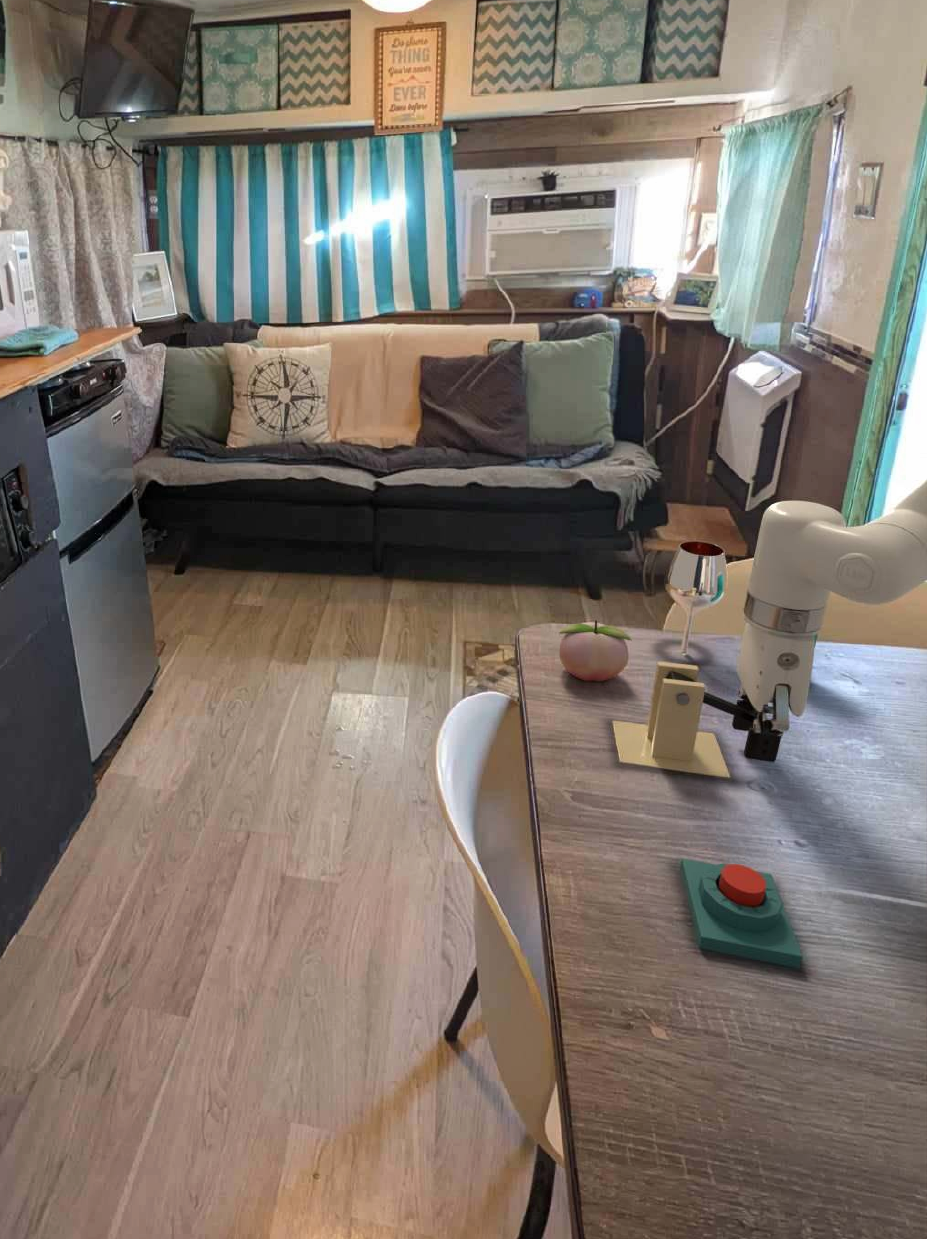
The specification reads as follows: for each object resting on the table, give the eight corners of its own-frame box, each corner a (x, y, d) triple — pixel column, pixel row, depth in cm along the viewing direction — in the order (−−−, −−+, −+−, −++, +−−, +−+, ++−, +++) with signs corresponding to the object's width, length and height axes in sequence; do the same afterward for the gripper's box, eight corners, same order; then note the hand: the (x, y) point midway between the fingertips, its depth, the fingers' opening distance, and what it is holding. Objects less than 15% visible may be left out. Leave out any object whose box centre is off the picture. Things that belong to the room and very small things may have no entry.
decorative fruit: (615, 667, 121) (623, 607, 118) (629, 697, 114) (639, 635, 110) (549, 664, 123) (555, 605, 119) (559, 693, 115) (566, 631, 112)
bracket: (712, 741, 104) (728, 661, 100) (729, 785, 96) (747, 700, 92) (611, 727, 107) (622, 649, 103) (618, 769, 99) (631, 687, 95)
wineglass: (652, 640, 128) (669, 534, 121) (712, 649, 124) (732, 541, 118) (652, 665, 121) (670, 555, 115) (714, 676, 118) (736, 563, 111)
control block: (767, 890, 81) (774, 859, 80) (797, 974, 72) (806, 941, 71) (678, 874, 84) (684, 844, 82) (697, 954, 75) (704, 921, 73)
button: (757, 882, 78) (760, 867, 77) (767, 911, 75) (771, 896, 74) (715, 874, 79) (718, 860, 78) (723, 902, 76) (726, 888, 75)
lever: (757, 719, 99) (768, 704, 98) (768, 743, 95) (780, 728, 94) (659, 678, 101) (668, 663, 100) (665, 700, 97) (675, 685, 96)
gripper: (849, 651, 83) (811, 795, 89) (798, 581, 98) (768, 709, 104) (765, 642, 85) (734, 783, 91) (728, 575, 100) (703, 700, 106)
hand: (752, 742), depth 98 cm, fingers closed on lever, 5 cm apart
